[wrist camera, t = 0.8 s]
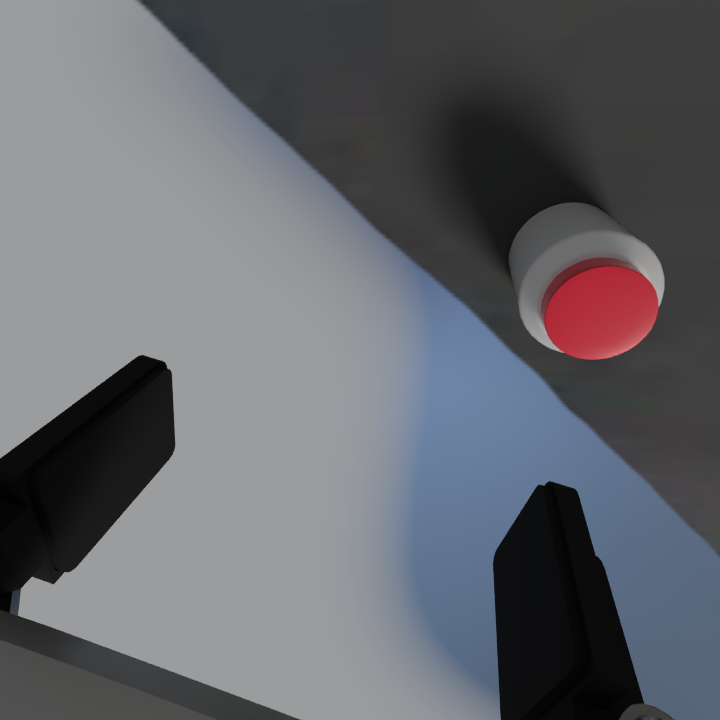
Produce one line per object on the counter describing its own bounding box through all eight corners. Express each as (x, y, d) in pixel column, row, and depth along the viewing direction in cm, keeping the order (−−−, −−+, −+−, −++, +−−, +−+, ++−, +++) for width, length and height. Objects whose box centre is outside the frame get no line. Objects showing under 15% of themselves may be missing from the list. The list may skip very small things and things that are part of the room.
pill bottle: (494, 290, 34) (502, 357, 25) (530, 191, 30) (556, 227, 21) (591, 314, 34) (636, 392, 24) (642, 215, 30) (719, 264, 20)
